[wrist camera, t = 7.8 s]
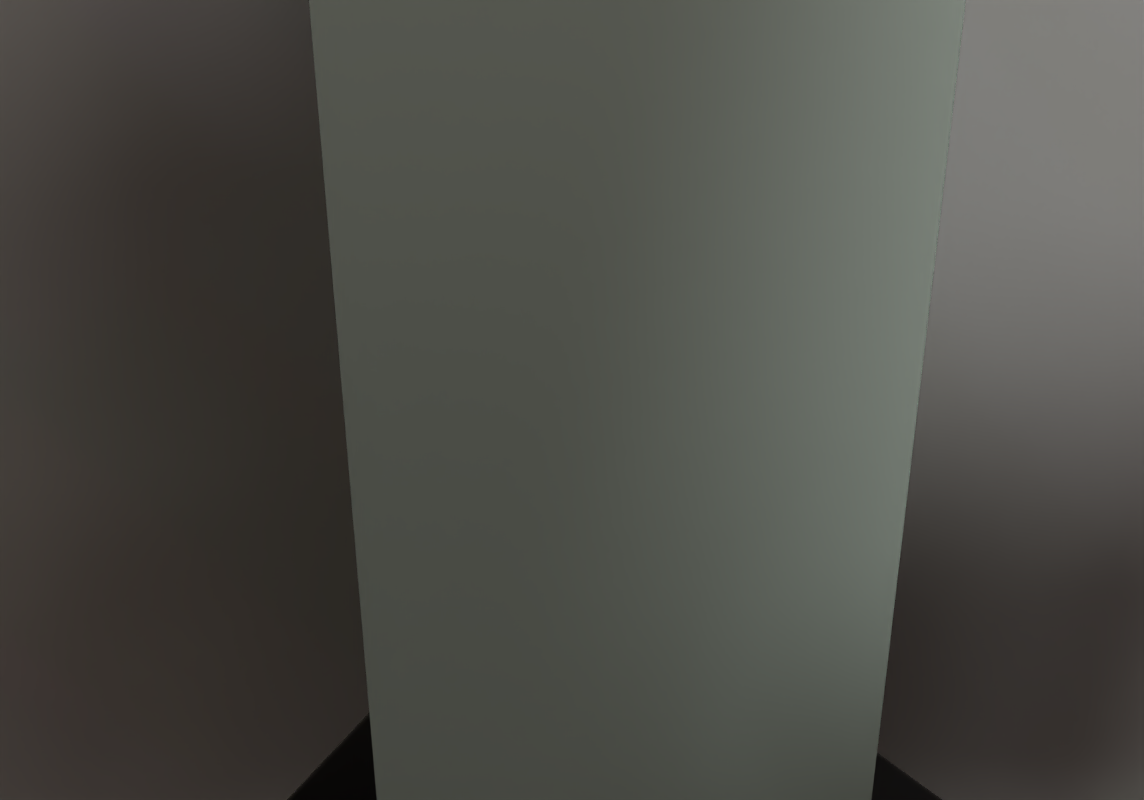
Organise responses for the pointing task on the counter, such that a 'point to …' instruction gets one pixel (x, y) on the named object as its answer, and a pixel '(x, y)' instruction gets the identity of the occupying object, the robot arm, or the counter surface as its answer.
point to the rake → (631, 381)
